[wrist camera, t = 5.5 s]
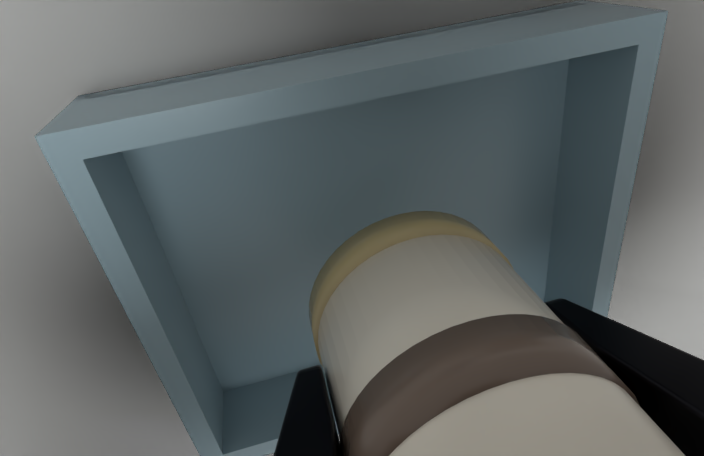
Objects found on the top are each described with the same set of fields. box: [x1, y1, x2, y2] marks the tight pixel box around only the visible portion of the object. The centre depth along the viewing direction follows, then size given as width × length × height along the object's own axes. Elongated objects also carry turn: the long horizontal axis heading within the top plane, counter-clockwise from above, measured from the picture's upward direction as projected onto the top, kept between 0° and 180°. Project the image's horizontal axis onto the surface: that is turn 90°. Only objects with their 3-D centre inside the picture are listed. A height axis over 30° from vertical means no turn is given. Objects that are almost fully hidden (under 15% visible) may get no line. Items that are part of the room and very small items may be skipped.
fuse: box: [309, 211, 685, 456], centre depth 7 cm, size 4×4×7 cm
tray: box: [35, 0, 668, 456], centre depth 11 cm, size 9×11×2 cm
